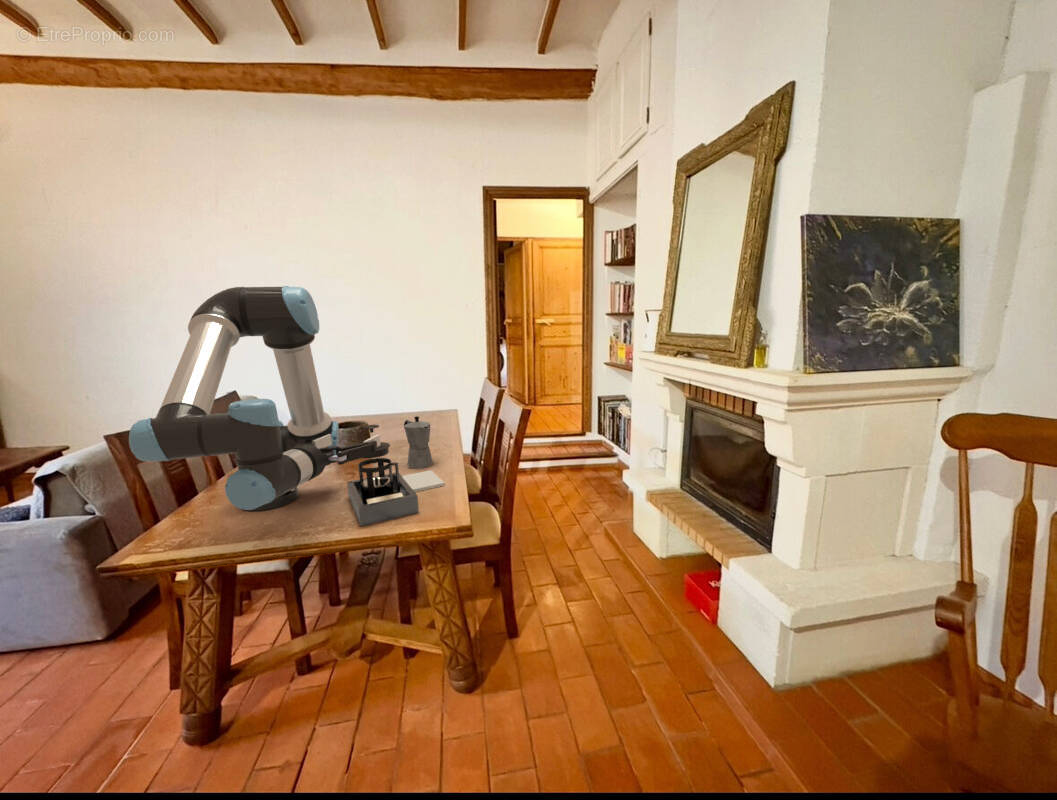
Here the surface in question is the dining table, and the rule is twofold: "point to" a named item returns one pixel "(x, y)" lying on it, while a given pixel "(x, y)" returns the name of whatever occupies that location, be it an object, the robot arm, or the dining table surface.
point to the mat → (423, 480)
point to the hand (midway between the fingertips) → (354, 439)
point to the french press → (379, 484)
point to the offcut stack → (383, 498)
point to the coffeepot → (418, 443)
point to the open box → (383, 503)
